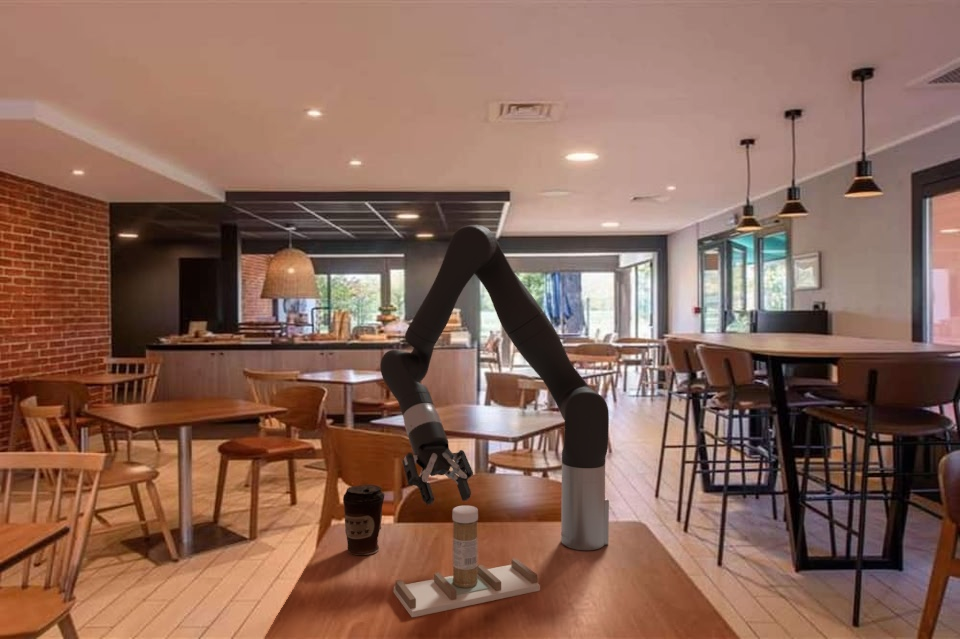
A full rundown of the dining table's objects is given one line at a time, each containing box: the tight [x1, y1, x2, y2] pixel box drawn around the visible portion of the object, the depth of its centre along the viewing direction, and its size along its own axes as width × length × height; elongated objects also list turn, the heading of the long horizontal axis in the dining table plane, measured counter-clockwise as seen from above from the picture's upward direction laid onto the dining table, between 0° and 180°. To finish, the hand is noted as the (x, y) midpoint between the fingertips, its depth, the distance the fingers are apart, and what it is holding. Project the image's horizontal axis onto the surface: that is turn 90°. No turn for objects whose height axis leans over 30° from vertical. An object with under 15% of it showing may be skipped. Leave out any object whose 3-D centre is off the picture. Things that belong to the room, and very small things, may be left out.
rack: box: [393, 558, 541, 618], centre depth 113 cm, size 24×10×2 cm, turn 115°
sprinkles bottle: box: [451, 505, 479, 588], centre depth 113 cm, size 5×5×13 cm
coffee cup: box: [342, 484, 385, 556], centre depth 131 cm, size 9×8×13 cm
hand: (449, 500), depth 124 cm, fingers open, 8 cm apart
